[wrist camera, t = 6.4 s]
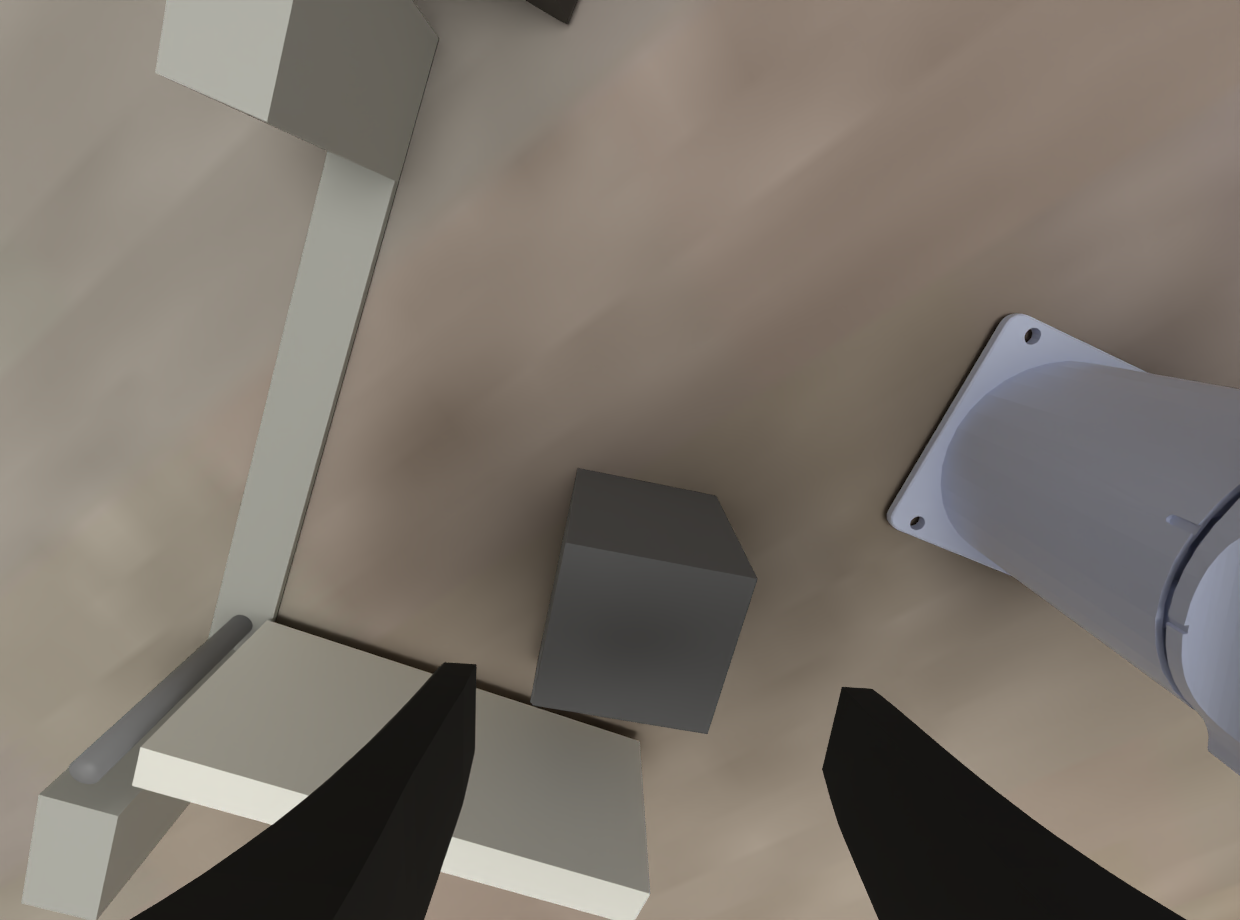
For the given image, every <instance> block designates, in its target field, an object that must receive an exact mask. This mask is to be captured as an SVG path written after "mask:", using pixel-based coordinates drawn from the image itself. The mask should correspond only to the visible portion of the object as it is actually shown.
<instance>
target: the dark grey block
mask: <svg viewBox="0 0 1240 920" xmlns="http://www.w3.org/2000/svg"><path fill="white" fill-rule="evenodd" d="M756 582H757V577H756V575H755V573H754V571H753V569H752V567H751V565H750V563H749V561H748V559H747V557H746V555H745V553H744V551H743V549H742V547H741V545H740V543H739V541H738V539H737V537H736V535H735V533H734V531H733V529H732V527H731V525H730V523H729V521H728V519H727V517H726V515H725V513H724V511H723V509H722V507H721V505H720V503H719V501H718V499H717V497H716V496H715V495H710V494H705V493H700V492H695V491H690V490H685V489H680V488H675V487H670V486H665V485H660V484H655V483H650V482H645V481H640V480H635V479H630V478H625V477H620V476H615V475H610V474H605V473H600V472H595V471H590V470H585V469H580V468H578V469H577V474H576V479H575V483H574V488H573V493H572V498H571V503H570V508H569V512H568V517H567V522H566V527H565V532H564V537H563V541H562V546H561V551H560V556H559V561H558V565H557V570H556V575H555V580H554V585H553V590H552V594H551V599H550V604H549V609H548V614H547V619H546V623H545V628H544V633H543V638H542V643H541V648H540V652H539V657H538V662H537V668H536V673H535V679H534V684H533V690H532V695H531V701H530V703H532V705H534V706H540V707H546V708H552V709H558V710H564V711H570V712H576V713H582V714H589V715H595V716H601V717H607V718H613V719H619V720H625V721H631V722H637V723H643V724H649V725H655V726H661V727H667V728H674V729H680V730H686V731H692V732H698V733H704V734H708V731H709V728H710V724H711V721H712V718H713V715H714V712H715V709H716V706H717V703H718V700H719V697H720V693H721V690H722V687H723V684H724V681H725V678H726V675H727V672H728V669H729V666H730V662H731V659H732V656H733V653H734V650H735V647H736V644H737V641H738V638H739V635H740V631H741V628H742V625H743V622H744V619H745V616H746V613H747V610H748V607H749V604H750V600H751V597H752V594H753V591H754V588H755V585H756Z"/></svg>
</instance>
